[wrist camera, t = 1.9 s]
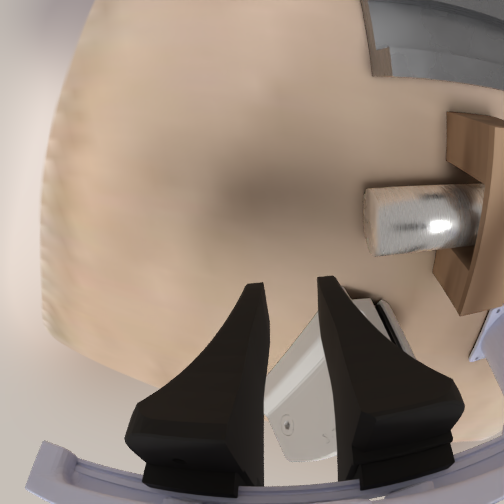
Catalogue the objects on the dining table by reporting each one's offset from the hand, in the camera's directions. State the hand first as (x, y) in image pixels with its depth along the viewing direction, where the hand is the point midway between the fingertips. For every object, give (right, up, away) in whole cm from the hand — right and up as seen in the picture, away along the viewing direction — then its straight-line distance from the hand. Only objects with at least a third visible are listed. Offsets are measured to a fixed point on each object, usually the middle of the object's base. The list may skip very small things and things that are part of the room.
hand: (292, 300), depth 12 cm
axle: (+10, +5, +6) cm, 13 cm away
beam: (+13, +6, +6) cm, 15 cm away
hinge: (+5, -8, +15) cm, 17 cm away
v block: (+11, +15, 0) cm, 18 cm away
